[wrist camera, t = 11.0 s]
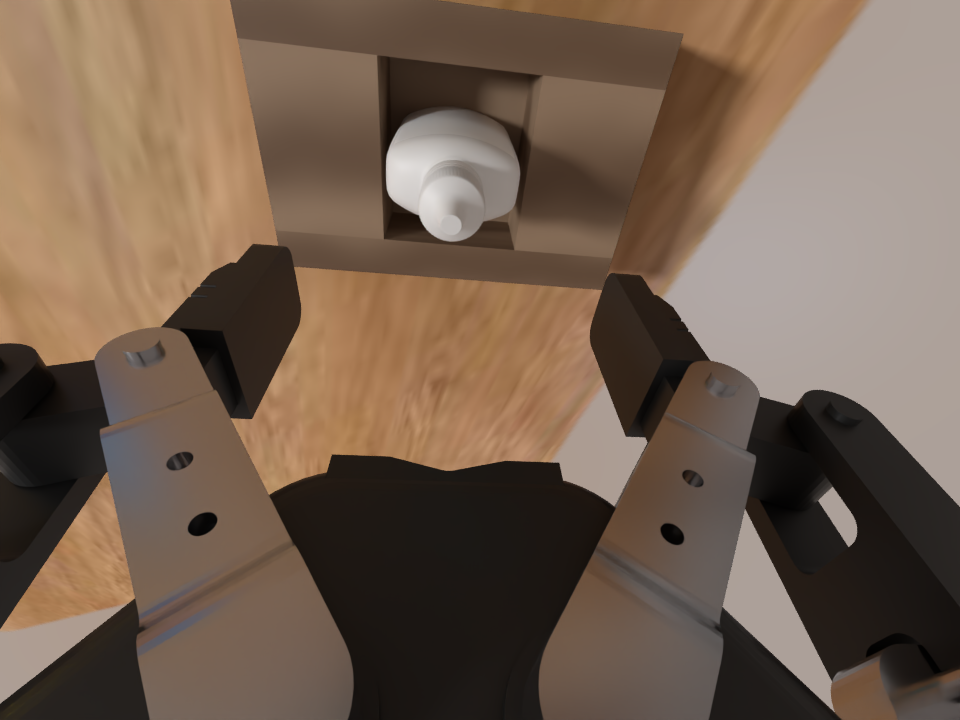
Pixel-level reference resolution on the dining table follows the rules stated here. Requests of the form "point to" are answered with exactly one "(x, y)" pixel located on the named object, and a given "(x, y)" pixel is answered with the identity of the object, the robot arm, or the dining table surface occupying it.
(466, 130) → the eye dropper bottle
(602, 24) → the walnut holder
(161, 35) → the dining table surface
